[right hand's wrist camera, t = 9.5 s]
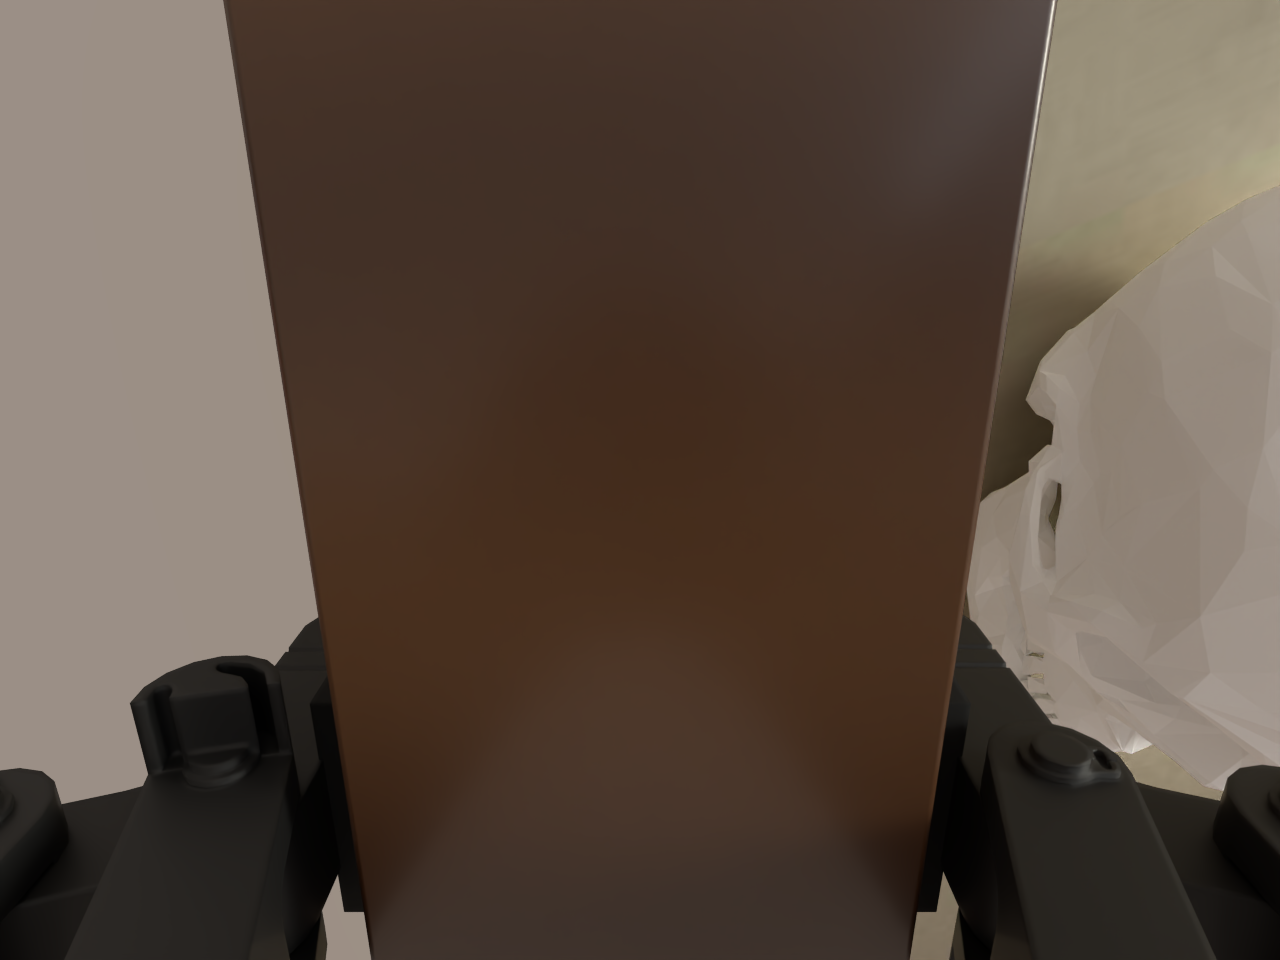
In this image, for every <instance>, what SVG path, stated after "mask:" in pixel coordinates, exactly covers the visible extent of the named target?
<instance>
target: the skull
mask: <svg viewBox="0 0 1280 960" xmlns="http://www.w3.org/2000/svg"><path fill="white" fill-rule="evenodd" d="M1026 401H1027V402H1028V404H1029V405H1030V406H1031V408H1032V409H1033V410H1034V412H1035V413H1036V414H1037V415H1039V416H1041V417H1043V418H1046V419H1048V420H1050V422H1051V423H1052V424H1053V426H1054V429H1053V437H1052V445H1046V446H1045V447H1044V448H1043V449H1042V450H1041V451H1040V452H1038V453H1037V454H1036V455H1035V456H1034V457H1033V458H1032V459H1031V460H1029V472H1028V473H1026V474H1025V475H1023V476H1022V477H1020V478H1019V479H1017V480H1015V481H1014V482H1012V483H1011V484H1009V485H1008V486H1006V487H1004V488H1001V489H999V490H996V491H993V492H991V493H990V494H989V495H988V496H987V497H986V498H985V499H984V500H982V501H981V502H980V506H979V513H978V519H977V526H976V532H975V539H974V545H973V552H972V558H971V565H970V571H969V578H968V584H967V596H968V604H969V613H970V620H972V621H973V622H975V623H976V624H977V626H978V627H979V628H980V630H981V631H982V632H983V633H984V635H985V636H986V637H987V639H988V640H989V641H990V643H991V644H992V649H996V650H997V652H998V653H999V654H1000V656H1001V657H1002V658H1003V660H1004V661H1005V662H1006V667H1007V668H1010V669H1011V670H1012V671H1013V673H1014V674H1015V675H1016V677H1017V678H1018V679H1019V681H1020V682H1021V683H1022V685H1023V686H1024V687H1025V688H1026V690H1027V691H1028V692H1029V694H1030V695H1031V696H1032V698H1033V699H1034V700H1035V702H1036V703H1037V704H1038V705H1039V707H1040V708H1041V709H1042V711H1043V712H1044V713H1045V715H1046V716H1047V717H1048V719H1049V720H1050V721H1051V723H1052V724H1055V725H1059V726H1063V727H1067V728H1071V729H1074V730H1076V731H1078V732H1080V733H1083V734H1085V735H1087V736H1089V737H1091V738H1094V739H1096V740H1098V741H1099V742H1101V743H1102V744H1103V745H1105V746H1106V747H1107V748H1109V749H1110V750H1111V751H1113V752H1118V751H1123V752H1127V753H1130V754H1133V753H1135V752H1137V751H1139V750H1142V749H1144V748H1146V747H1148V746H1150V745H1154V746H1156V747H1157V748H1158V749H1160V750H1161V751H1162V752H1164V753H1165V754H1166V755H1167V756H1169V757H1170V758H1171V759H1173V760H1174V761H1175V762H1176V763H1177V764H1179V765H1180V766H1181V767H1182V768H1183V769H1184V770H1185V771H1187V772H1188V773H1189V774H1190V775H1191V776H1192V777H1193V778H1195V779H1196V780H1197V781H1198V782H1199V783H1200V784H1201V785H1203V786H1205V787H1209V788H1213V789H1216V790H1220V791H1224V787H1225V784H1226V781H1227V778H1228V777H1229V776H1230V775H1231V774H1233V773H1234V772H1235V771H1236V770H1238V769H1239V768H1242V767H1249V766H1256V765H1269V766H1277V767H1280V185H1278V186H1276V187H1274V188H1271V189H1269V190H1267V191H1264V192H1262V193H1260V194H1257V195H1255V196H1253V197H1250V198H1248V199H1246V200H1244V201H1242V202H1241V203H1239V204H1237V205H1235V206H1234V207H1232V208H1230V209H1228V210H1226V211H1225V212H1223V213H1221V214H1219V215H1218V216H1216V217H1214V218H1212V219H1211V220H1209V221H1207V222H1205V223H1204V224H1203V225H1201V226H1200V227H1199V228H1197V229H1196V230H1195V231H1193V232H1192V233H1191V234H1190V235H1188V236H1187V237H1186V238H1184V239H1183V240H1182V241H1180V242H1179V243H1178V244H1176V245H1175V246H1174V247H1172V248H1171V249H1170V250H1168V251H1167V252H1166V253H1164V254H1163V255H1162V256H1160V257H1159V258H1158V259H1156V260H1155V261H1154V262H1152V263H1151V264H1150V265H1148V266H1147V267H1146V268H1144V269H1143V270H1142V271H1141V272H1139V273H1138V274H1137V275H1136V276H1135V277H1134V278H1132V279H1131V280H1130V281H1129V282H1128V283H1127V284H1125V285H1124V286H1123V287H1122V288H1121V289H1120V290H1118V291H1117V292H1116V293H1115V294H1114V295H1113V296H1111V297H1110V298H1109V299H1108V300H1107V301H1106V302H1105V303H1104V304H1102V305H1101V306H1100V307H1099V308H1098V309H1097V310H1096V311H1095V312H1093V313H1092V314H1091V315H1090V316H1088V317H1087V318H1086V319H1085V320H1083V321H1082V322H1081V323H1080V324H1078V325H1077V326H1076V327H1075V328H1072V329H1070V330H1068V331H1067V332H1066V333H1065V334H1064V335H1063V336H1062V337H1061V338H1060V339H1059V341H1058V342H1057V343H1056V344H1055V345H1054V346H1053V347H1052V348H1051V349H1050V351H1049V352H1048V353H1047V354H1046V355H1045V356H1044V357H1043V358H1042V360H1041V361H1040V363H1039V366H1038V368H1037V371H1036V374H1035V376H1034V379H1033V382H1032V384H1031V387H1030V390H1029V392H1028V395H1027V398H1026ZM1058 483H1060V484H1061V505H1060V511H1059V516H1058V519H1057V523H1056V532H1055V533H1054V531H1053V529H1052V526H1051V524H1050V522H1049V520H1048V518H1049V515H1050V513H1051V511H1052V508H1053V506H1054V503H1055V501H1056V495H1057V485H1058ZM1031 653H1037V654H1039V655H1043V654H1044V657H1043V658H1042V657H1036V656H1031V655H1030V656H1029V654H1031ZM1042 673H1043V676H1044V679H1043V678H1034V677H1031V675H1034V674H1042Z"/></svg>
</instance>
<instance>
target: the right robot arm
mask: <svg viewBox="0 0 1280 960" xmlns="http://www.w3.org/2000/svg"><path fill="white" fill-rule="evenodd" d="M130 705H131V709H132V713H133V717H134V721H135V725H136V729H137V732H138V736H139V740H140V744H141V748H142V752H143V756H144V760H145V764H146V767H147V771H148V776H147V778H146V781H145V783H144V785H143V786H142V787H138V788H134V789H131V790H127V791H123V792H118V793H113V794H108V795H104V796H99V797H94V798H89V799H85V800H80V801H75V802H70V803H66V804H61V801H60V798H59V795H58V792H57V788H56V785H55V782H54V781H53V780H52V779H51V778H50V777H48V776H47V775H46V774H45V773H44V772H42V771H36V770H29V769H22V768H17V769H9V770H1V771H0V960H325V959H326V951H327V939H326V932H325V925H324V919H323V914H322V909H323V907H324V905H325V902H326V900H327V898H328V895H329V893H330V891H331V889H332V886H333V884H334V882H335V879H336V877H337V875H338V877H339V883H340V889H341V895H342V901H343V907H344V912H364V909H363V902H362V896H361V889H360V883H359V876H358V870H357V863H356V857H355V850H354V844H353V837H352V831H351V824H350V818H349V812H348V805H347V799H346V792H345V786H344V779H343V773H342V766H341V760H340V753H339V747H338V740H337V734H336V727H335V721H334V714H333V708H332V701H331V695H330V688H329V682H328V675H327V669H326V662H325V656H324V649H323V643H322V636H321V630H320V624H319V617H318V618H317V619H315V620H314V621H312V622H310V623H309V624H307V625H306V626H305V627H304V628H303V630H302V631H301V632H300V634H299V635H298V636H297V638H296V639H295V640H294V641H293V643H292V644H291V645H290V647H289V652H285V653H284V655H283V656H282V657H281V659H280V660H279V661H278V663H277V664H276V665H275V666H274V665H273V664H271V663H270V662H269V661H268V660H265V659H260V658H256V657H251V656H221V657H216V658H211V659H207V660H202V661H197V662H193V663H191V664H188V665H186V666H183V667H181V668H178V669H175V670H173V671H170V672H168V673H166V674H164V675H163V676H161V677H159V678H158V679H156V680H155V681H153V682H152V683H150V684H148V685H147V686H145V687H144V688H143V689H142V690H141V691H140V692H139V694H138V695H137V696H136V697H135V698H134V699H133V700H132V701H131V703H130ZM943 872H944V874H945V876H946V879H947V881H948V883H949V886H950V888H951V890H952V892H953V895H954V897H955V899H956V901H957V904H958V906H959V908H958V914H957V919H956V925H955V930H954V936H953V941H952V947H951V953H950V958H949V960H1280V767H1277V766H1269V765H1256V766H1249V767H1242V768H1239V769H1238V770H1236V771H1235V772H1234V773H1233V774H1231V775H1230V776H1229V777H1228V778H1227V781H1226V784H1225V787H1224V791H1223V794H1222V797H1221V800H1220V801H1218V800H1213V799H1208V798H1203V797H1199V796H1194V795H1189V794H1184V793H1180V792H1175V791H1170V790H1165V789H1161V788H1156V787H1152V786H1149V785H1145V784H1141V783H1138V782H1136V781H1135V779H1134V777H1133V775H1132V773H1131V772H1130V770H1129V769H1128V768H1127V766H1126V765H1125V764H1124V762H1123V761H1122V760H1121V758H1120V757H1119V756H1118V755H1117V754H1115V753H1114V752H1113V751H1111V750H1110V749H1109V748H1107V747H1106V746H1105V745H1103V744H1102V743H1101V742H1099V741H1098V740H1096V739H1094V738H1091V737H1089V736H1087V735H1085V734H1083V733H1080V732H1078V731H1076V730H1074V729H1071V728H1067V727H1063V726H1059V725H1055V724H1052V723H1051V721H1050V720H1049V719H1048V717H1047V716H1046V715H1045V713H1044V712H1043V711H1042V709H1041V708H1040V707H1039V705H1038V704H1037V703H1036V702H1035V700H1034V699H1033V698H1032V696H1031V695H1030V694H1029V692H1028V691H1027V690H1026V688H1025V687H1024V686H1023V685H1022V683H1021V682H1020V681H1019V679H1018V678H1017V677H1016V675H1015V674H1014V673H1013V671H1012V670H1011V669H1010V668H1007V667H1006V662H1005V661H1004V660H1003V658H1002V657H1001V656H1000V654H999V653H998V652H997V650H996V649H992V644H991V643H990V641H989V640H988V639H987V637H986V636H985V635H984V633H983V632H982V631H981V630H980V628H979V627H978V626H977V624H976V623H975V622H973V621H972V620H970V619H968V618H967V617H965V616H964V615H963V617H962V623H961V630H960V636H959V643H958V649H957V656H956V662H955V669H954V675H953V681H952V688H951V694H950V701H949V707H948V714H947V720H946V727H945V733H944V740H943V746H942V753H941V759H940V766H939V772H938V779H937V785H936V792H935V798H934V805H933V811H932V818H931V824H930V831H929V837H928V844H927V850H926V857H925V863H924V870H923V876H922V883H921V889H920V896H919V902H918V909H917V912H936V911H937V905H938V899H939V893H940V887H941V881H942V875H943Z"/></svg>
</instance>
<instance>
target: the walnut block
mask: <svg viewBox="0 0 1280 960" xmlns="http://www.w3.org/2000/svg"><path fill="white" fill-rule="evenodd" d="M223 1H224V8H225V14H226V20H227V27H228V34H229V40H230V47H231V53H232V59H233V66H234V72H235V79H236V85H237V92H238V98H239V105H240V111H241V118H242V124H243V131H244V137H245V144H246V150H247V157H248V163H249V170H250V176H251V182H252V189H253V196H254V202H255V209H256V215H257V222H258V228H259V235H260V241H261V247H262V254H263V260H264V267H265V273H266V280H267V286H268V293H269V299H270V306H271V312H272V319H273V325H274V332H275V338H276V345H277V351H278V358H279V364H280V371H281V377H282V384H283V390H284V396H285V403H286V409H287V416H288V422H289V429H290V436H291V442H292V448H293V455H294V461H295V468H296V474H297V481H298V487H299V494H300V500H301V507H302V513H303V520H304V526H305V533H306V539H307V546H308V552H309V559H310V565H311V572H312V578H313V584H314V591H315V598H316V604H317V611H318V617H319V624H320V630H321V636H322V643H323V649H324V656H325V662H326V669H327V675H328V682H329V688H330V695H331V701H332V708H333V714H334V721H335V727H336V734H337V740H338V747H339V753H340V760H341V766H342V773H343V779H344V786H345V792H346V799H347V805H348V812H349V818H350V824H351V831H352V837H353V844H354V850H355V857H356V863H357V870H358V876H359V883H360V889H361V896H362V902H363V909H364V915H365V922H366V928H367V935H368V941H369V947H370V954H371V960H910V954H911V947H912V941H913V934H914V928H915V922H916V915H917V909H918V902H919V896H920V889H921V883H922V876H923V870H924V863H925V857H926V850H927V844H928V837H929V831H930V824H931V818H932V811H933V805H934V798H935V792H936V785H937V779H938V772H939V766H940V759H941V753H942V746H943V740H944V733H945V727H946V720H947V714H948V707H949V701H950V694H951V688H952V681H953V675H954V669H955V662H956V656H957V649H958V643H959V636H960V630H961V623H962V617H963V610H964V604H965V597H966V591H967V584H968V578H969V571H970V565H971V558H972V552H973V545H974V539H975V532H976V526H977V519H978V513H979V506H980V500H981V493H982V487H983V480H984V474H985V467H986V461H987V454H988V448H989V441H990V435H991V428H992V422H993V416H994V409H995V403H996V396H997V390H998V383H999V377H1000V370H1001V364H1002V357H1003V351H1004V344H1005V338H1006V331H1007V325H1008V318H1009V312H1010V305H1011V299H1012V292H1013V286H1014V279H1015V273H1016V266H1017V260H1018V253H1019V247H1020V240H1021V234H1022V227H1023V221H1024V214H1025V208H1026V201H1027V195H1028V188H1029V182H1030V176H1031V169H1032V163H1033V156H1034V150H1035V143H1036V137H1037V130H1038V124H1039V117H1040V111H1041V104H1042V98H1043V91H1044V85H1045V78H1046V72H1047V65H1048V59H1049V52H1050V46H1051V39H1052V33H1053V26H1054V20H1055V13H1056V7H1057V0H223Z"/></svg>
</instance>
